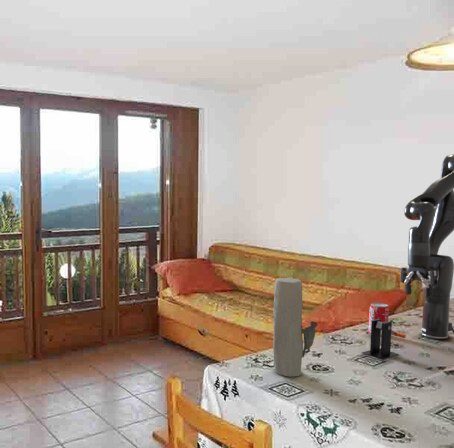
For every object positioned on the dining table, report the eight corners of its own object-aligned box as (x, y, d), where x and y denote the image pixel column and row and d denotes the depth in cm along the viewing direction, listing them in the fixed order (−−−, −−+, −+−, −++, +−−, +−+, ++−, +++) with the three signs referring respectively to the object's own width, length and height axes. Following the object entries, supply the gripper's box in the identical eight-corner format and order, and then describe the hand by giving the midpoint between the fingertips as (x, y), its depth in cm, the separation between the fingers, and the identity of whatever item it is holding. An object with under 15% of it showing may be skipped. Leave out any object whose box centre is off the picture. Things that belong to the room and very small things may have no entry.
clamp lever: (386, 335, 183) (388, 329, 184) (404, 340, 178) (406, 333, 178) (369, 325, 177) (371, 319, 177) (387, 330, 171) (389, 323, 172)
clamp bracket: (377, 351, 182) (379, 316, 181) (398, 357, 175) (400, 321, 174) (361, 355, 176) (362, 320, 175) (382, 362, 170) (383, 325, 169)
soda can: (383, 334, 204) (385, 302, 203) (390, 339, 196) (391, 306, 195) (365, 333, 204) (367, 302, 203) (371, 338, 197) (373, 306, 196)
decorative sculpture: (316, 370, 161) (319, 279, 159) (315, 381, 152) (318, 284, 150) (272, 365, 165) (275, 276, 163) (269, 375, 156) (272, 281, 154)
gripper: (442, 255, 186) (442, 298, 187) (409, 252, 199) (408, 292, 199) (429, 255, 183) (428, 299, 183) (396, 252, 196) (395, 293, 196)
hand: (418, 295), depth 191 cm, fingers open, 8 cm apart
